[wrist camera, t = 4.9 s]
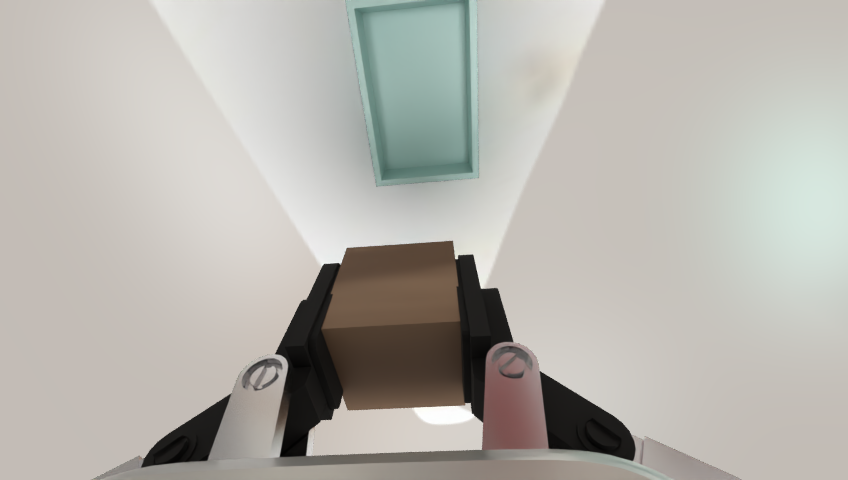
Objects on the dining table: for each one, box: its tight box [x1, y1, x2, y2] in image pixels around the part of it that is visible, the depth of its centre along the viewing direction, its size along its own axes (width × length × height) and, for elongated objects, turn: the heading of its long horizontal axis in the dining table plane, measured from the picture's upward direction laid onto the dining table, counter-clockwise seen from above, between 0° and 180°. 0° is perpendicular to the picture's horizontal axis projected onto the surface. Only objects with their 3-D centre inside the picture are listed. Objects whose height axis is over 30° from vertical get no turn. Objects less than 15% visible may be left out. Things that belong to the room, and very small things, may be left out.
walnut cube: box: [321, 241, 465, 410], centre depth 12 cm, size 4×4×4 cm
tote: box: [345, 0, 479, 186], centre depth 21 cm, size 10×7×3 cm, turn 5°
